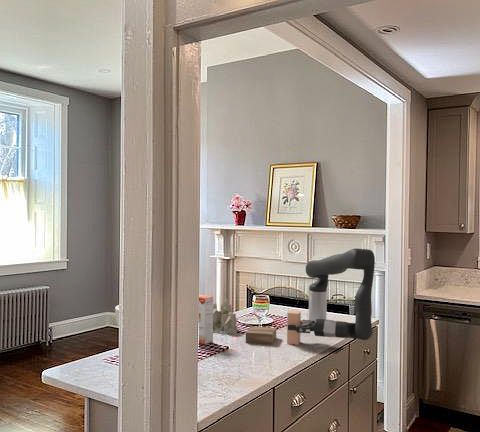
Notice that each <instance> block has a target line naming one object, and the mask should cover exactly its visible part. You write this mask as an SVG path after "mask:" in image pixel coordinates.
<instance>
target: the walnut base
mask: <svg viewBox="0 0 480 432" xmlns="http://www.w3.org/2000/svg"><path fill="white" fill-rule="evenodd" d="M276 340H277V327H267V326H256V325H255V326H252V325H251V326H250V327H249V329H248V328H247V331H245V344H255V345H266V346H267V345H269V346H272V345H273V344H274V343H275V341H276Z"/></svg>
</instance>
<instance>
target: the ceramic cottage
mask: <svg viewBox="0 0 480 432" xmlns="http://www.w3.org/2000/svg"><path fill="white" fill-rule="evenodd" d="M217 308H218V306H217V303H216V302H213V333H216V334H220V335H234V334H237V332H238V326H237V323H238V322H237V321H238V320H237V315H236V313H233V310H232V309H233V308H232V304H231V303H229V299H227V298H225V300H224V301H223V303H221V304H220V310H218V309H217Z"/></svg>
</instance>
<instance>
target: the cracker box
mask: <svg viewBox="0 0 480 432" xmlns="http://www.w3.org/2000/svg"><path fill="white" fill-rule="evenodd" d="M213 303H214V297H213V296H210V295H206V294H205V295H204V294H199V343H198V344H201V345H204V344H205V345H207V344H211V343H213V342H214V332H213Z"/></svg>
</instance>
